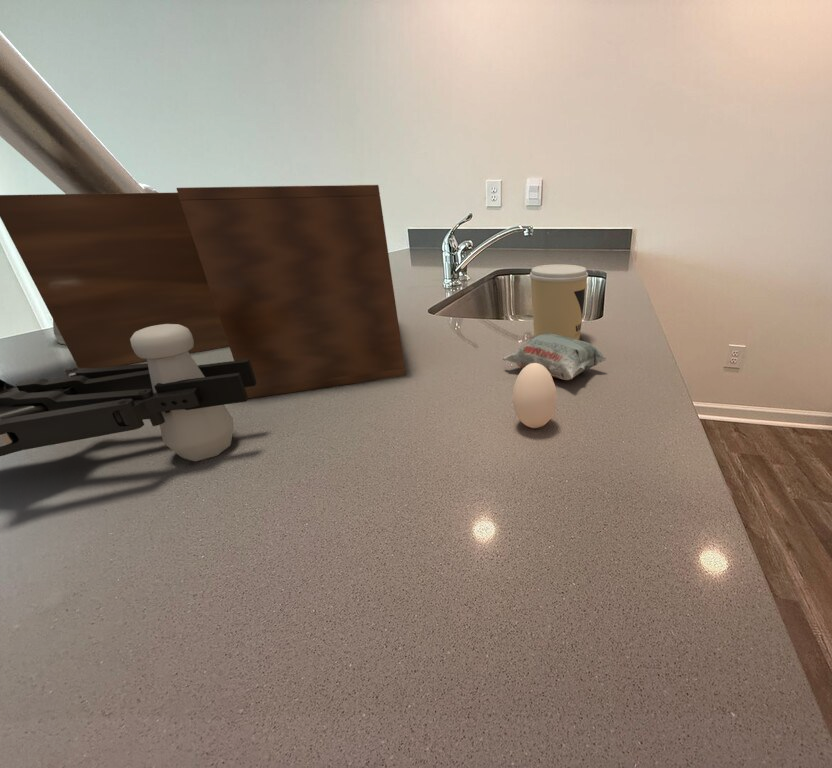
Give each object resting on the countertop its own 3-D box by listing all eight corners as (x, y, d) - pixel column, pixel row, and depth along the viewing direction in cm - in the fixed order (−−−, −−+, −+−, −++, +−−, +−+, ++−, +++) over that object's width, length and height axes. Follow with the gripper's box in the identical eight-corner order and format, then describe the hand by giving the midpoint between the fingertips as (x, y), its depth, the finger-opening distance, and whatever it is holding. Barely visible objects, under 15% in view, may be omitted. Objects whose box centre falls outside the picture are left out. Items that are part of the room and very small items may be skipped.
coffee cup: (588, 348, 66) (592, 273, 61) (530, 349, 66) (530, 274, 61) (580, 330, 75) (583, 263, 69) (529, 331, 75) (529, 264, 70)
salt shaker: (233, 428, 45) (191, 314, 40) (247, 448, 42) (203, 326, 36) (168, 449, 42) (112, 328, 36) (177, 474, 38) (116, 342, 32)
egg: (528, 442, 42) (527, 376, 39) (505, 422, 45) (503, 361, 42) (564, 429, 44) (567, 366, 41) (540, 411, 47) (540, 352, 44)
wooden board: (246, 398, 52) (175, 187, 42) (281, 337, 75) (241, 190, 64) (406, 375, 58) (378, 184, 47) (393, 324, 80) (373, 188, 70)
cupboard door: (89, 359, 66) (7, 195, 55) (272, 328, 79) (234, 192, 69) (80, 372, 61) (-12, 195, 50) (277, 337, 74) (236, 191, 64)
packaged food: (572, 394, 51) (573, 357, 49) (502, 371, 58) (501, 338, 56) (605, 373, 57) (608, 339, 55) (538, 354, 64) (539, 324, 62)
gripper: (22, 416, 42) (273, 381, 49) (-144, 523, 28) (238, 455, 35) (-20, 348, 39) (255, 321, 46) (-230, 431, 25) (208, 376, 32)
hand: (247, 379), depth 40 cm, fingers closed on salt shaker, 3 cm apart
